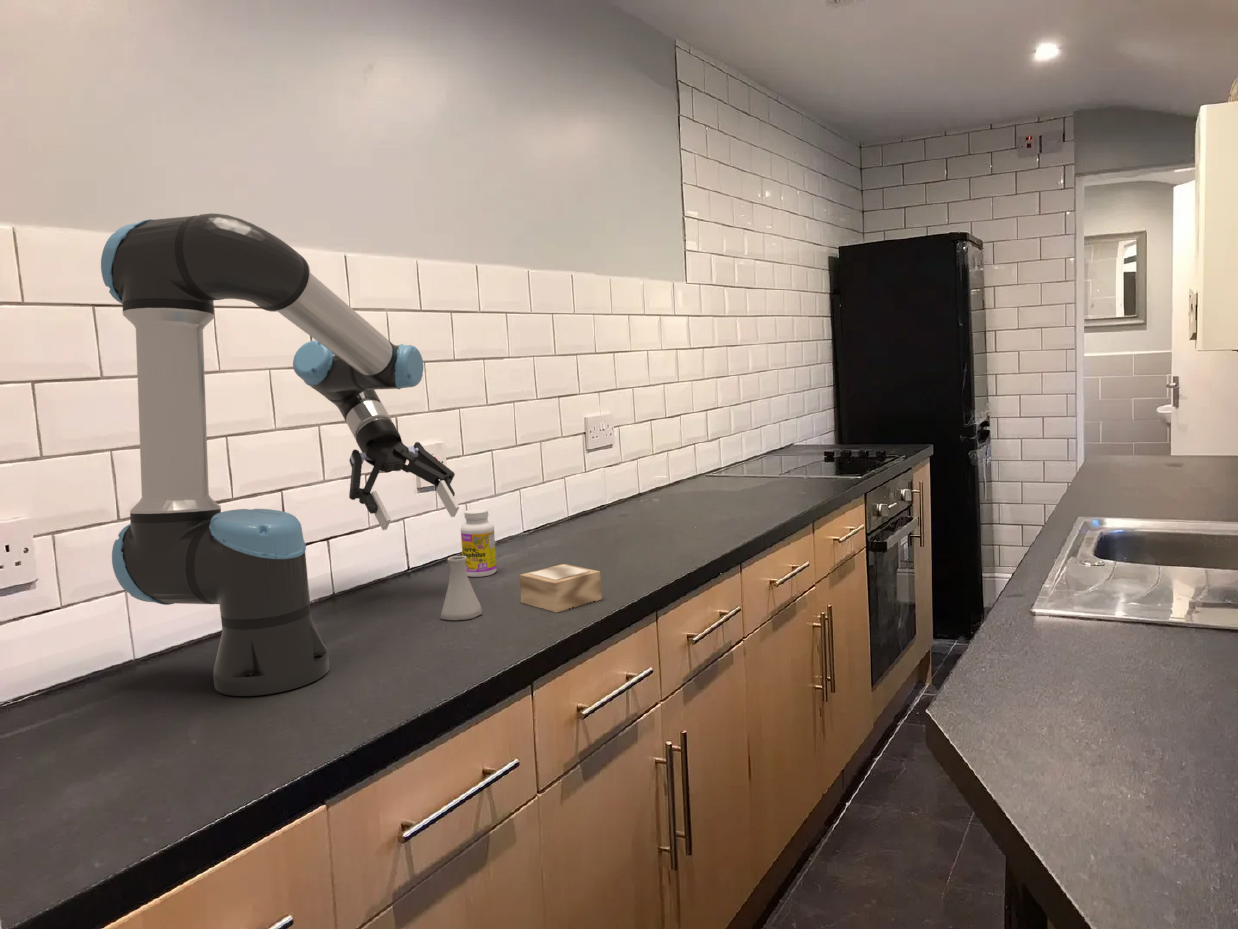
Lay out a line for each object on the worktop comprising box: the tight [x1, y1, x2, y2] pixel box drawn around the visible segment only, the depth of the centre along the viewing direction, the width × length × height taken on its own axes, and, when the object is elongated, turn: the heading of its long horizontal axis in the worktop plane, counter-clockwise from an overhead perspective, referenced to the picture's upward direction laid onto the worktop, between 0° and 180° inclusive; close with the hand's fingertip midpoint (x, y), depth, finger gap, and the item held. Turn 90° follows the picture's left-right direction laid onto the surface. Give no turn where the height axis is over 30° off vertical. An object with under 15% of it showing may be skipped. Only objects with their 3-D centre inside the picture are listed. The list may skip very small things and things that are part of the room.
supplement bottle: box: [460, 508, 498, 578], centre depth 183 cm, size 7×7×13 cm
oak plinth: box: [519, 563, 603, 613], centre depth 159 cm, size 10×10×5 cm
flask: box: [439, 555, 483, 621], centre depth 153 cm, size 7×7×10 cm
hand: (422, 518), depth 160 cm, fingers open, 13 cm apart
